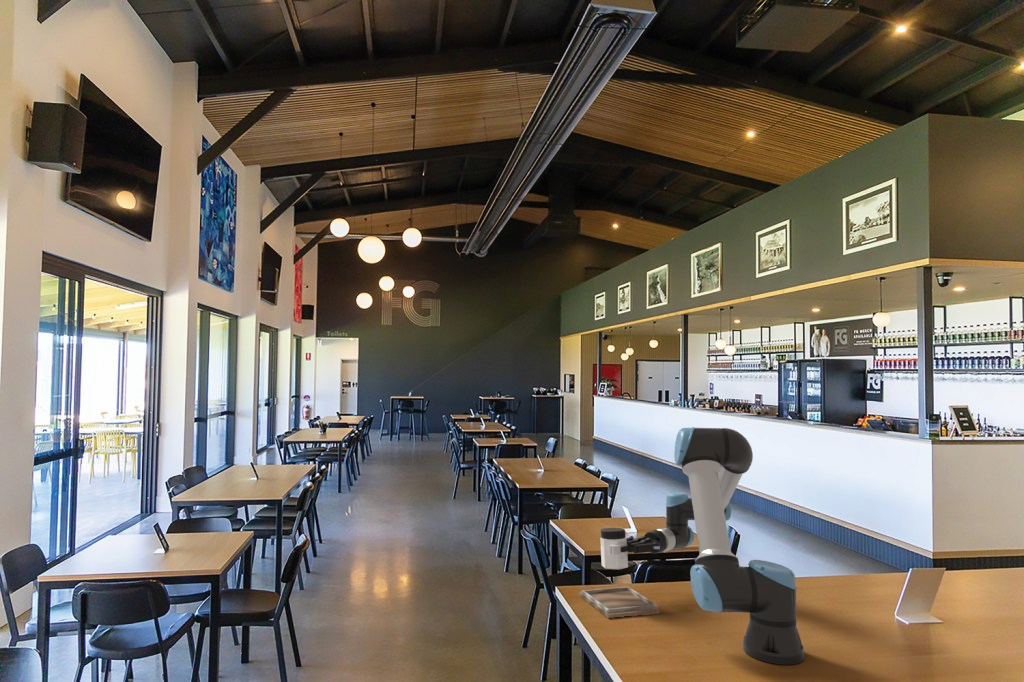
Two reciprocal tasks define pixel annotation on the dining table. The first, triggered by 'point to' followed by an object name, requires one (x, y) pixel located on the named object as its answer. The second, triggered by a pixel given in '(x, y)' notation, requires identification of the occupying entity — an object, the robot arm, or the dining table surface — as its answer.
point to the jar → (610, 538)
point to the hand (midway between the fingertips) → (611, 550)
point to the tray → (619, 602)
